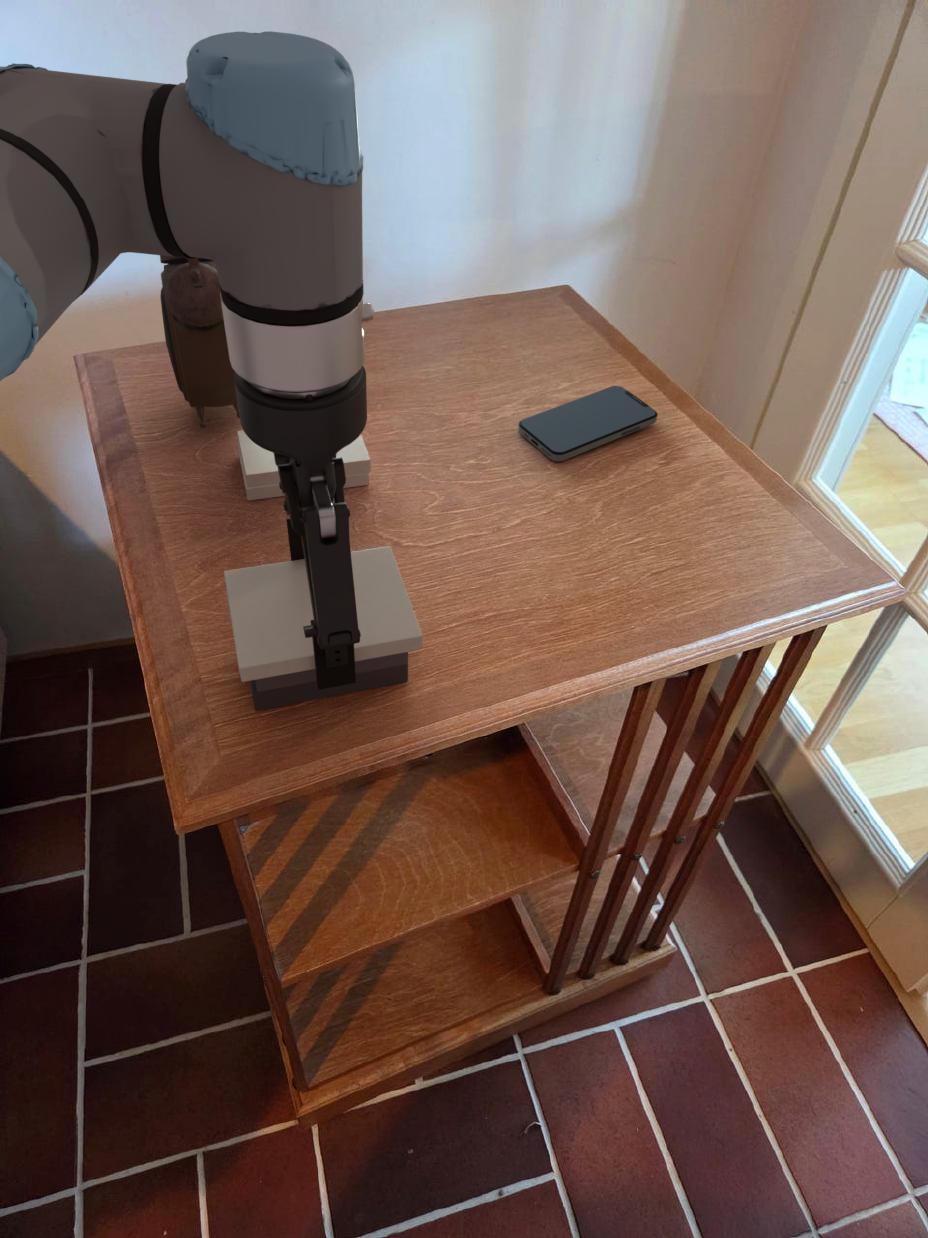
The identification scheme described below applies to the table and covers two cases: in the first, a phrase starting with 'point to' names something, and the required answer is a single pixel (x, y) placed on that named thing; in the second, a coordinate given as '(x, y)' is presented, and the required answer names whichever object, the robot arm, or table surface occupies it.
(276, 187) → the robot arm
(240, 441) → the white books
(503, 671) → the table surface
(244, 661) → the light grey rectangular slab
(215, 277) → the alarm clock
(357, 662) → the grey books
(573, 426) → the smartphone
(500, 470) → the table surface
